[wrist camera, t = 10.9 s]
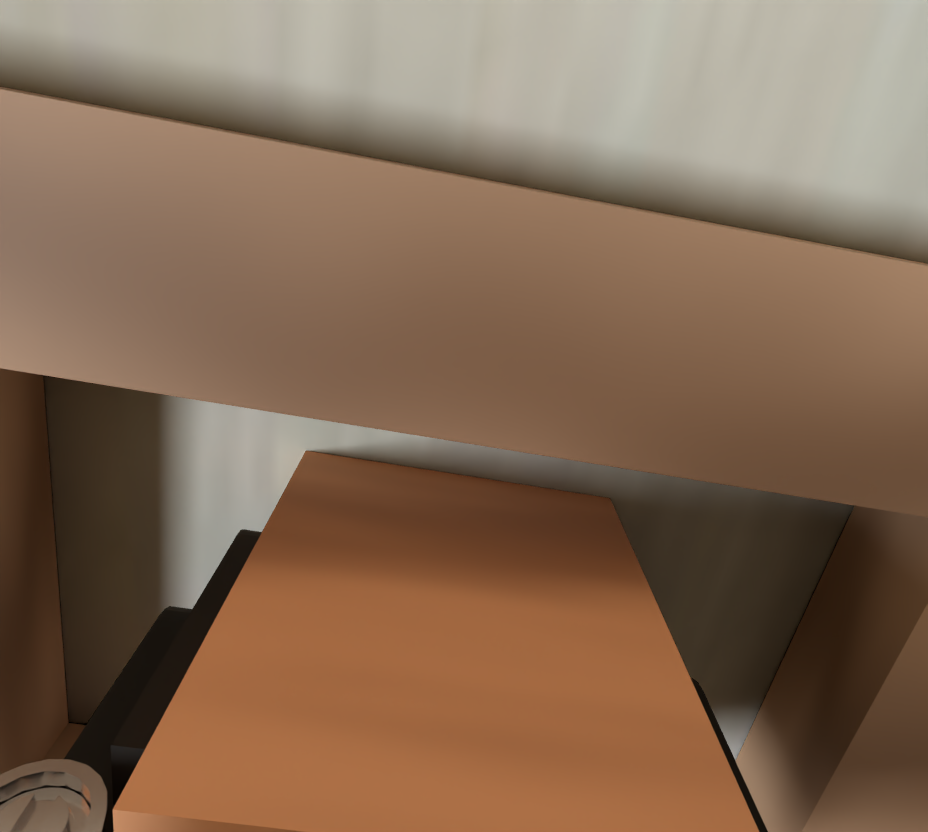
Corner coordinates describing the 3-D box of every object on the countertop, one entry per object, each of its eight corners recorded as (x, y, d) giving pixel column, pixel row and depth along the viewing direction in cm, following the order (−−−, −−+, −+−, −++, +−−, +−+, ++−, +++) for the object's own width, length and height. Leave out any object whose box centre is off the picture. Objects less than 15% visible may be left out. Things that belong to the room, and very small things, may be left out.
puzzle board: (-269, 35, 8) (-497, -6, 6) (1186, 312, 9) (1368, 350, 7) (-47, 1048, 16) (-112, 1162, 14) (697, 1112, 18) (725, 1225, 16)
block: (305, 450, 10) (112, 809, 4) (610, 497, 10) (784, 885, 5) (284, 688, 12) (127, 1153, 6) (542, 721, 12) (613, 1190, 7)
